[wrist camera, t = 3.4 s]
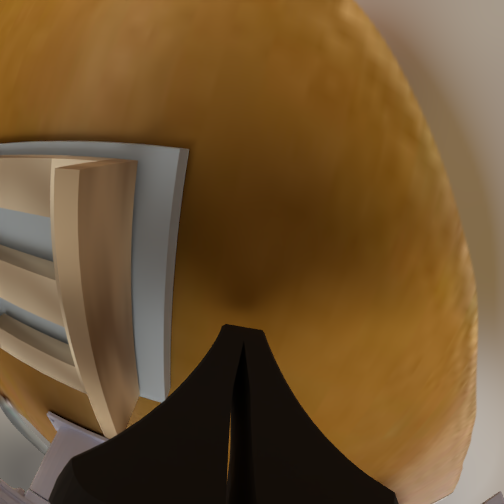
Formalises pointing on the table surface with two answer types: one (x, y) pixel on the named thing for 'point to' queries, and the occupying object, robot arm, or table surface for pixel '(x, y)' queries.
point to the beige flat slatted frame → (75, 277)
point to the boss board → (142, 247)
